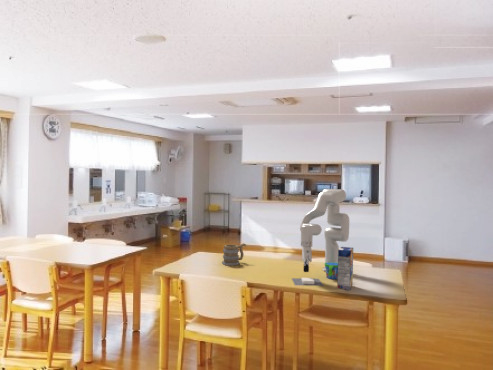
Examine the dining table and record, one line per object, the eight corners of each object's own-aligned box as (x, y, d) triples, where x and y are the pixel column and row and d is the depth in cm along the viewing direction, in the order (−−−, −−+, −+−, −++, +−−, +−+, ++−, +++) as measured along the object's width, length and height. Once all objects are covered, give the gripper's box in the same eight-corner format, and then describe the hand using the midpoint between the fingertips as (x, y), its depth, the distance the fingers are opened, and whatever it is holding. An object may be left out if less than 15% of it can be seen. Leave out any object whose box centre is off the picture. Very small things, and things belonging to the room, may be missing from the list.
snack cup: (328, 275, 277) (328, 260, 277) (343, 277, 272) (343, 262, 272) (321, 280, 264) (321, 264, 263) (336, 282, 259) (337, 266, 258)
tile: (312, 277, 258) (314, 281, 250) (312, 281, 258) (314, 284, 250) (301, 277, 257) (303, 280, 249) (301, 281, 257) (303, 284, 249)
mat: (318, 279, 264) (318, 278, 264) (323, 286, 247) (323, 285, 247) (291, 279, 264) (291, 278, 264) (294, 286, 247) (294, 285, 247)
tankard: (227, 266, 299) (227, 246, 299) (219, 262, 310) (220, 243, 310) (250, 263, 309) (250, 244, 309) (242, 260, 320) (242, 242, 320)
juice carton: (340, 284, 254) (341, 246, 254) (352, 285, 251) (353, 247, 251) (337, 288, 243) (338, 249, 242) (349, 290, 240) (350, 250, 240)
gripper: (314, 246, 254) (313, 274, 254) (310, 242, 269) (309, 269, 269) (302, 245, 254) (302, 274, 254) (299, 241, 269) (298, 269, 269)
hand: (306, 271), depth 262 cm, fingers closed
